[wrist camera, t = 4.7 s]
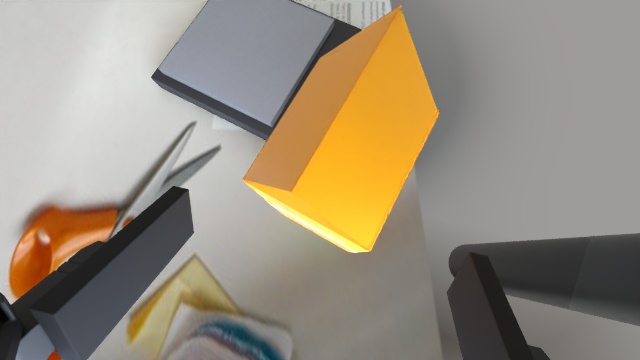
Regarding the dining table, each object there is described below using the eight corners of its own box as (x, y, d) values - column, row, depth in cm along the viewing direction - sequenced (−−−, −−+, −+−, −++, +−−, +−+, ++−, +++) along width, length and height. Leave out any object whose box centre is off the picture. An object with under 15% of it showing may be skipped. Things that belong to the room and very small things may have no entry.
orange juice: (389, 177, 30) (499, 40, 11) (349, 253, 28) (396, 255, 9) (323, 144, 31) (316, -35, 12) (281, 215, 29) (191, 142, 10)
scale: (360, 42, 34) (363, 22, 31) (295, 154, 31) (291, 144, 28) (233, -12, 37) (225, -35, 34) (160, 87, 33) (144, 71, 31)
